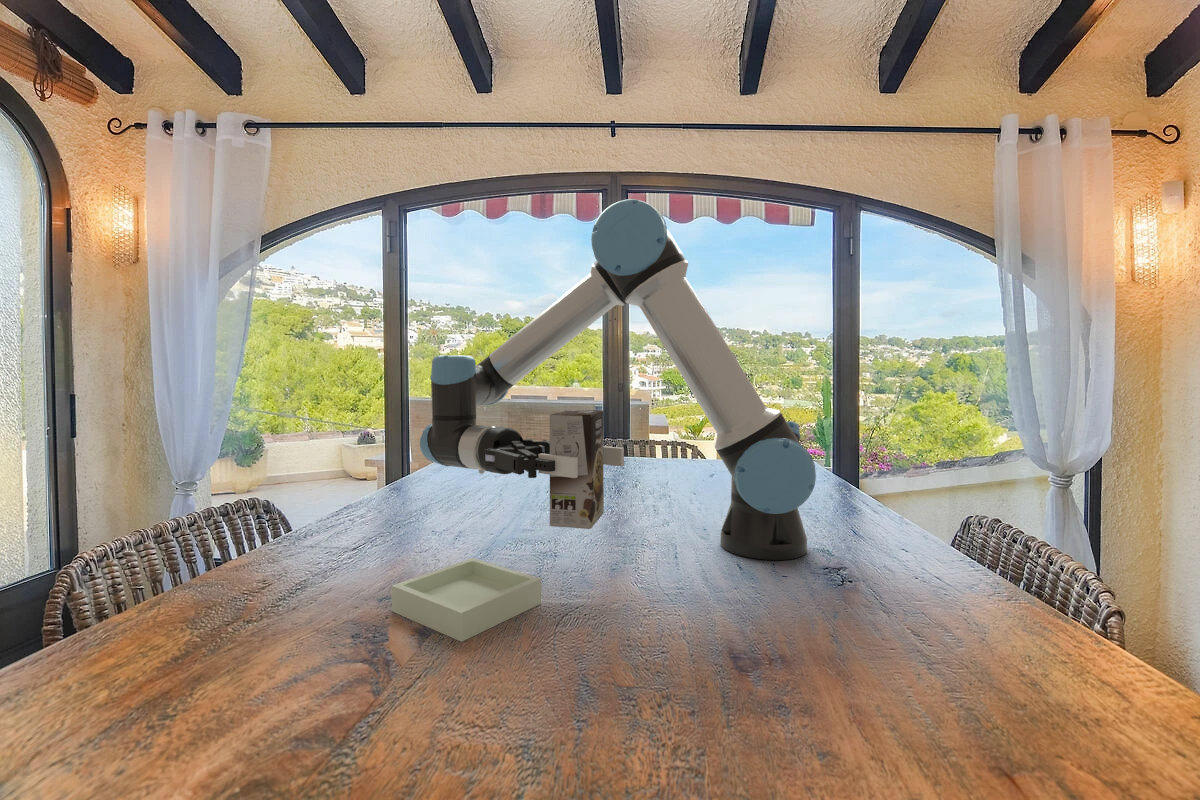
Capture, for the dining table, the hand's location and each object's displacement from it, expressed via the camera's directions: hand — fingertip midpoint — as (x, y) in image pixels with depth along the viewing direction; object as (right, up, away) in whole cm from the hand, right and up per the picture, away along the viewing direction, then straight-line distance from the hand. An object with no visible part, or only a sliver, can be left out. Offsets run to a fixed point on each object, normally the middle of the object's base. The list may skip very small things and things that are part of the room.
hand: (600, 462), depth 83 cm
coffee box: (-3, -9, +3) cm, 10 cm away
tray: (-18, -19, -4) cm, 27 cm away
